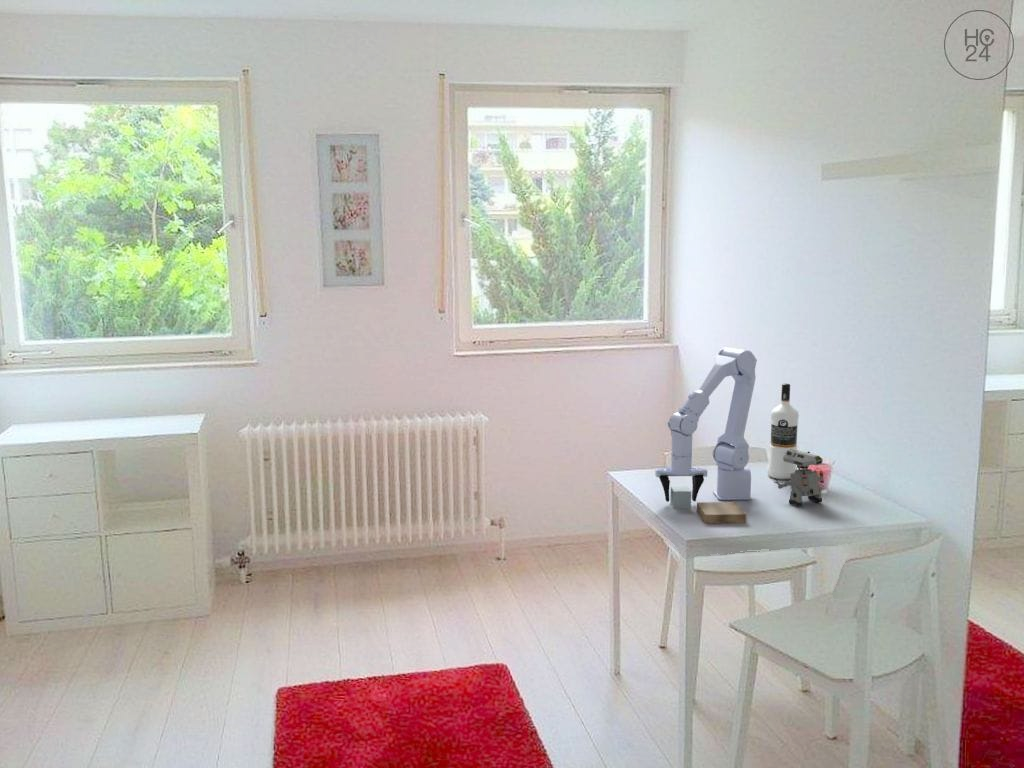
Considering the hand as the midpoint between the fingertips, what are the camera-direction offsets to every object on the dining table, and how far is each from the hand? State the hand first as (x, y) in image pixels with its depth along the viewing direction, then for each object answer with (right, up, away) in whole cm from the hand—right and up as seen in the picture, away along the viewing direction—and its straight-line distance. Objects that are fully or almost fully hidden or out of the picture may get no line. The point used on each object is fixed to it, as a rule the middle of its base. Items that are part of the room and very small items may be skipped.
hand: (680, 500), depth 265 cm
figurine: (+35, -1, +3) cm, 35 cm away
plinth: (+9, -3, -10) cm, 14 cm away
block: (0, -2, 0) cm, 2 cm away
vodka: (+38, +4, +29) cm, 48 cm away
